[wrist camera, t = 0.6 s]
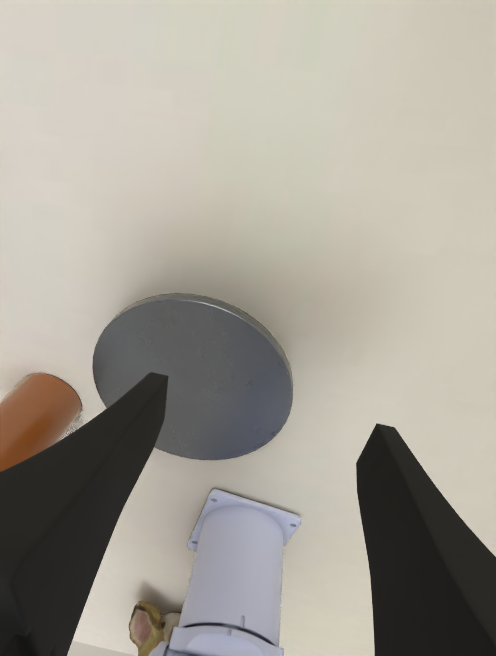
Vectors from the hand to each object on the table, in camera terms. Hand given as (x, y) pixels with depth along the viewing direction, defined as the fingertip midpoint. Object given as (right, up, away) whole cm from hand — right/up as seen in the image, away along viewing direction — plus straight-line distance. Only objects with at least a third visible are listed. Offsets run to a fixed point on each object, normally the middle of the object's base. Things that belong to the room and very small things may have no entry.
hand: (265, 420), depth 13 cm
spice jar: (-16, -2, +15) cm, 22 cm away
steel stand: (-4, +1, +12) cm, 12 cm away
